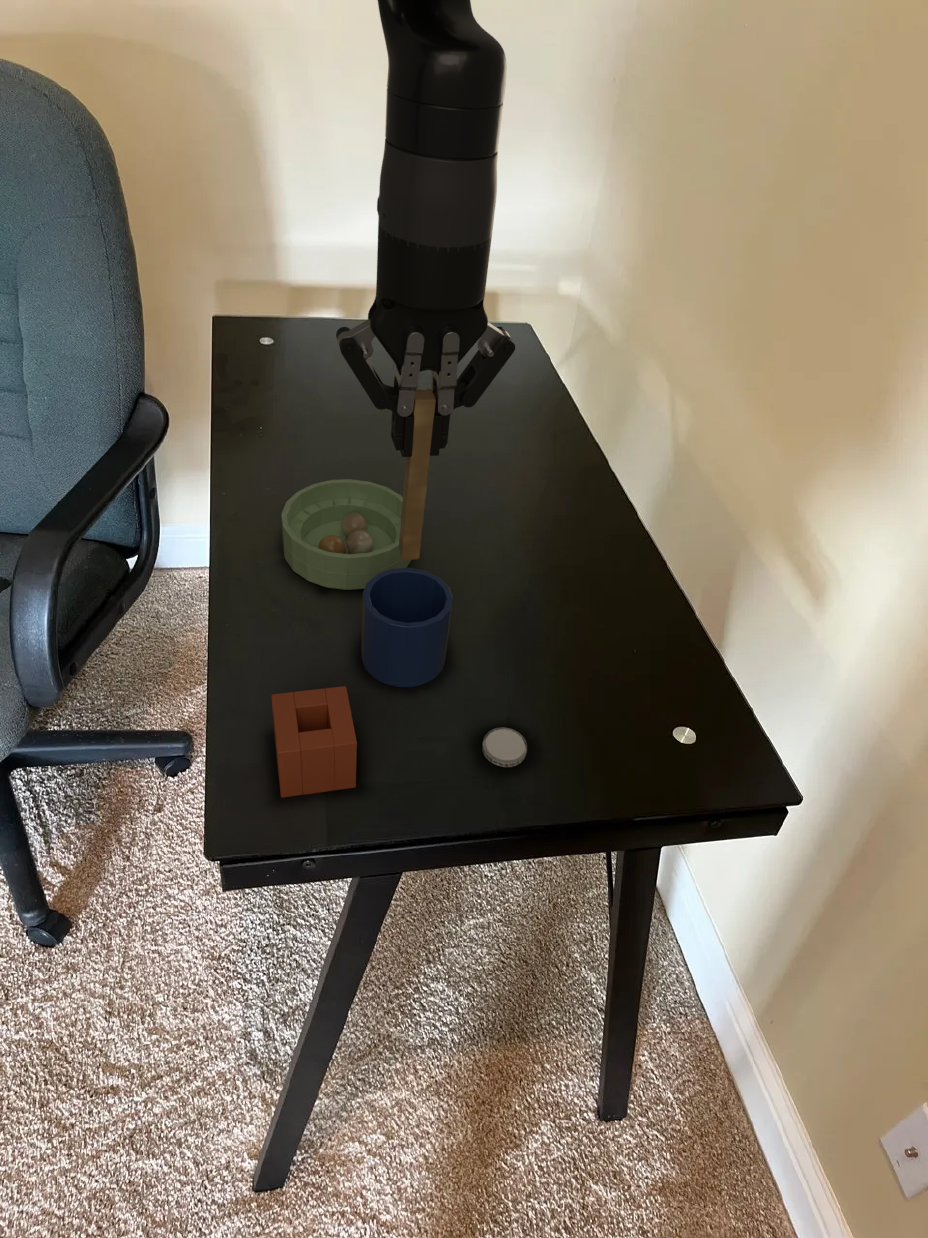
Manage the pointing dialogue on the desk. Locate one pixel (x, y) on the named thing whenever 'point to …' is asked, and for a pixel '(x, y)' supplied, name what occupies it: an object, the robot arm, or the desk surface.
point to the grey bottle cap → (504, 747)
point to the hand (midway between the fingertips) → (418, 450)
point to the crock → (405, 626)
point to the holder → (314, 741)
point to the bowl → (322, 516)
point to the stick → (417, 476)
